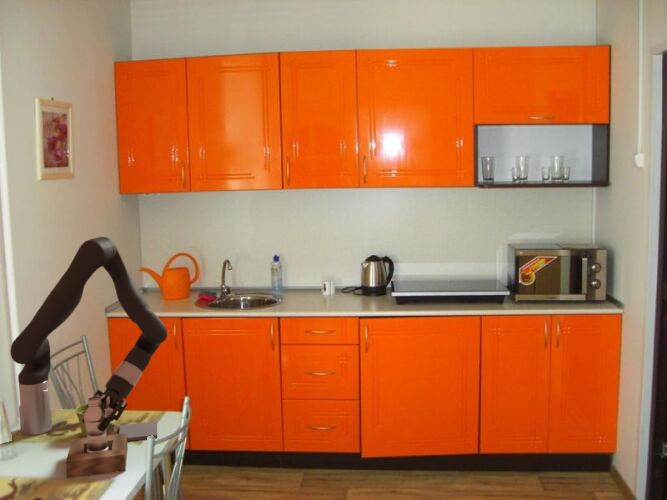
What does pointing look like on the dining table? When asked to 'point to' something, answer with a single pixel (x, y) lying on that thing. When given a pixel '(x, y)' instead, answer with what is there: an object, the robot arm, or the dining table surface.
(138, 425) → the slate mat
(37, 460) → the dining table surface
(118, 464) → the pocket block
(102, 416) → the plastic bottle
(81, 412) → the plant pot
